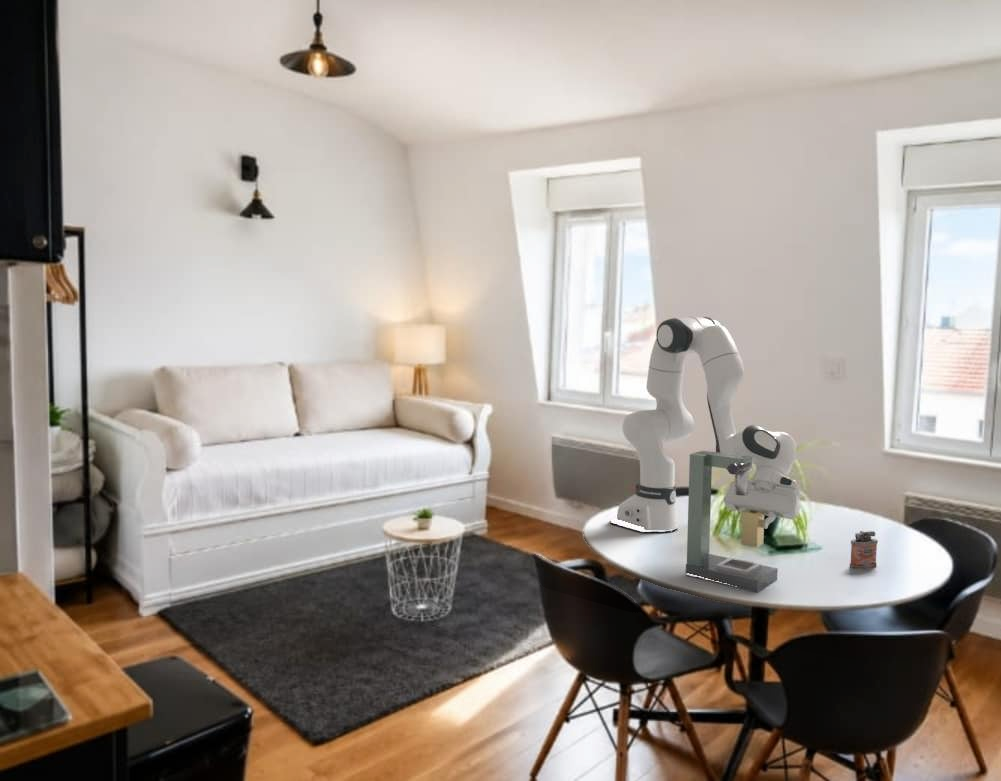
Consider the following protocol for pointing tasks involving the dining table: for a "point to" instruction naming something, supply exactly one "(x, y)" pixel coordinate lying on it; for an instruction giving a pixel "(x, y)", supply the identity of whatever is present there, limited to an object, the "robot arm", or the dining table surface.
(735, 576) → the press
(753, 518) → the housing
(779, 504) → the robot arm
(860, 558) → the lighter
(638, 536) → the dining table surface
